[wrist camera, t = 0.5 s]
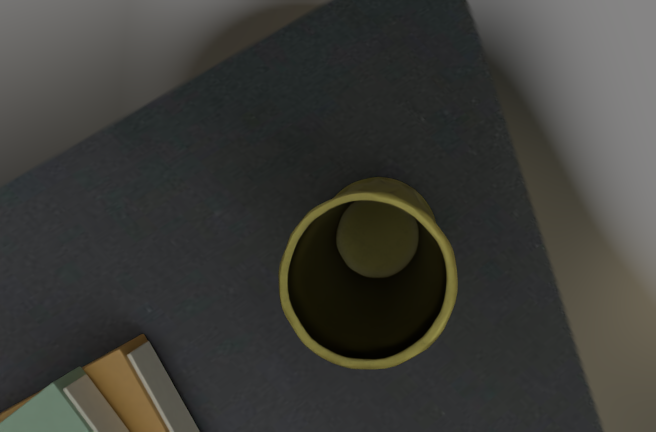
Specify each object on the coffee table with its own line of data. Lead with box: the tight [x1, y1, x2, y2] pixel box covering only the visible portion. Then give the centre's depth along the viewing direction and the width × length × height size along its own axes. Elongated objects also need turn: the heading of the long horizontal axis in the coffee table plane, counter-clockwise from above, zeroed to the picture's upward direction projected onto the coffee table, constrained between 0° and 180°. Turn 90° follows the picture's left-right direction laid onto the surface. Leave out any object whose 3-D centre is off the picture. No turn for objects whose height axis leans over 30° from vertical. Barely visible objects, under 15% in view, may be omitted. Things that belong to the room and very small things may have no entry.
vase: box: [279, 177, 458, 369], centre depth 24 cm, size 6×6×14 cm
